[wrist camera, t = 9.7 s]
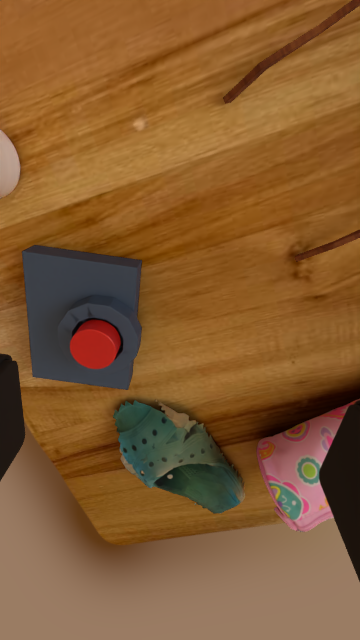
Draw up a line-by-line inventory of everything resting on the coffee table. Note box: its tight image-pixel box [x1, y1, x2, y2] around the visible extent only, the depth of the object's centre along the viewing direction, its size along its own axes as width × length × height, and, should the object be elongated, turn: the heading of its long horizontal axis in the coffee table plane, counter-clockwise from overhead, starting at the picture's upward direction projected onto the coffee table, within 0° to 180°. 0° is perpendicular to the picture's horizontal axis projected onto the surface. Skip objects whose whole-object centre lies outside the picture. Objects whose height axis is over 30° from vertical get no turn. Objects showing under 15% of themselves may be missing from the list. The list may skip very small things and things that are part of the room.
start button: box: [70, 320, 121, 369], centre depth 25 cm, size 4×4×2 cm
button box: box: [22, 245, 142, 390], centre depth 28 cm, size 12×10×4 cm
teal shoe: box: [113, 400, 245, 513], centre depth 35 cm, size 9×20×5 cm, turn 32°
